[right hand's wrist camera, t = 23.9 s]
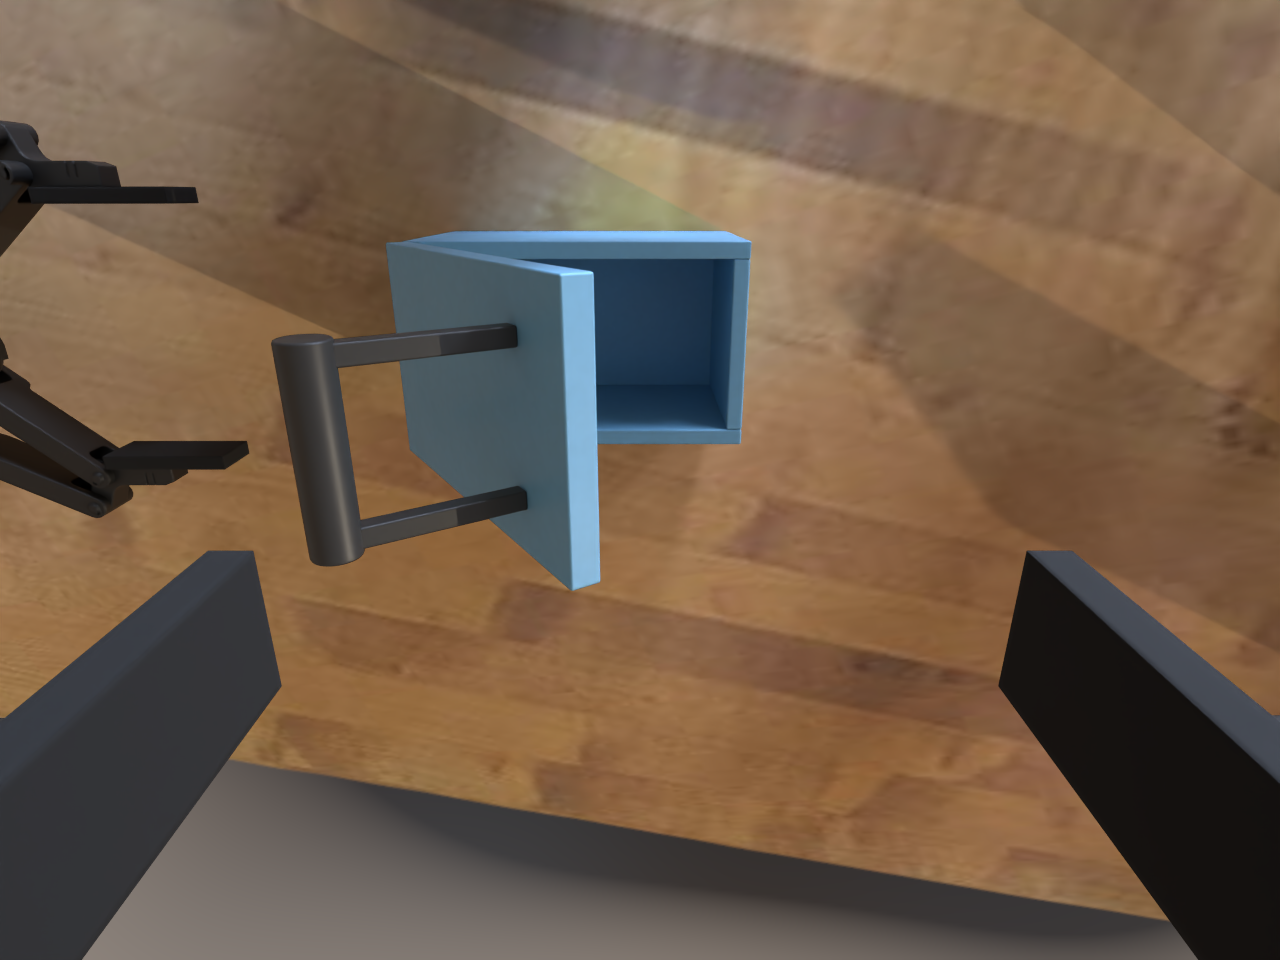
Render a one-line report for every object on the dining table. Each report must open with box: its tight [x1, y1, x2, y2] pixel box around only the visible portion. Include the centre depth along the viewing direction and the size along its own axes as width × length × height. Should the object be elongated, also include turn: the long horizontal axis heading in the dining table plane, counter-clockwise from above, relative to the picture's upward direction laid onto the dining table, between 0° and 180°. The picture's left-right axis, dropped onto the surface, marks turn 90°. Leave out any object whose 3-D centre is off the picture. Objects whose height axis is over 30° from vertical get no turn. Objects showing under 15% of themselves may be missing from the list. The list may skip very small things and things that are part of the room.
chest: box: [402, 231, 751, 444], centre depth 40 cm, size 16×10×10 cm, turn 90°
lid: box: [271, 242, 600, 591], centre depth 27 cm, size 17×10×8 cm
